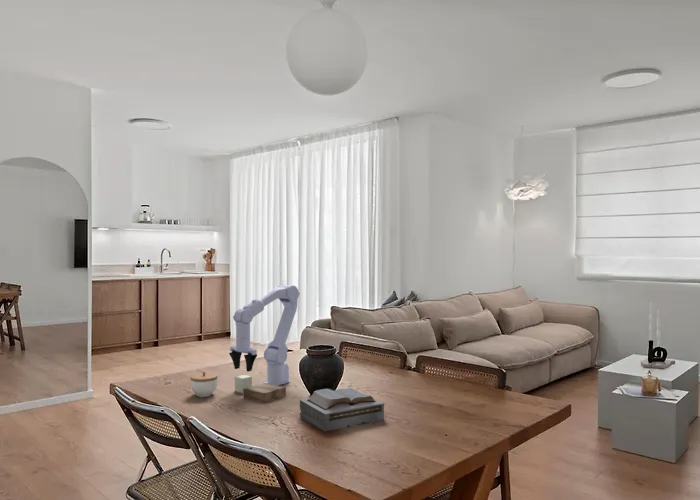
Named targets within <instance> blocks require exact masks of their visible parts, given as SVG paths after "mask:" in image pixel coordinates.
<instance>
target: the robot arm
mask: <svg viewBox="0 0 700 500" xmlns="http://www.w3.org/2000/svg"><path fill="white" fill-rule="evenodd" d="M299 297H300V292H299V289H298V287H297V286H296V285H288V284H278V285H277V286H275V287H273V289H272V290H271V291H270V292H268V293H267V294H266V295H264V296H263V297H262V298H260V299H252V300H251V302H249V303H248V304H247V305H244V306H243V307H242V308H239V309H237V310H236V311H235V312H234V315H233V316H232V318H233V320H234V322H235V329H236V330H235V337H236V338H235V345H232V346H231V345H230V346H229V351H230V352H229V356H230V358H231V360H232V363H233V368H234V369H235V370H237V369H240V367H241V358H242V353H243V354H244V355H243V357H244V360H245V366H246V367H245V368H246V372H252V370H253V366H254V363H255V361H256V359H257V357H258V354H257V353H258V350H257V349H256V348H252V347H251V322H252V321H253V319H254V317H256V316H257V315H259V314H260V313H262V312H263V311H264V310H265V307H266V306H267V305H269V304H271V303H273V302H274V301H276V300H277V299H278V300H279V301H280V302H281V303H282V304H283V307H284V308H283V310H282V313H281V317H280V320H279V323H278V326H277V328H276V332H275V334H274V338H273V340H272V341H270V342H269V343H268V346H267V347H266V348H265V349H264V352H263V358H264V359H265V361H266V363H267V364H266V365H267V367H266V370H267V371H266V375H267V377H266V381H263V382H262V384H263V383H268V384H273V385H278V386H281V385H285V384H289V383H291V380H290V374H289V373H290V368H289V367H290V366H289V364H288V363H287V362H286V361H287V359H288V351H289V349H288V346H287V344H286V343H287V339H288V337H289V334H290V331H291V328H292V324H293V323H294V318H295V316H296V312H297V309H298V300H299Z"/></svg>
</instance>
